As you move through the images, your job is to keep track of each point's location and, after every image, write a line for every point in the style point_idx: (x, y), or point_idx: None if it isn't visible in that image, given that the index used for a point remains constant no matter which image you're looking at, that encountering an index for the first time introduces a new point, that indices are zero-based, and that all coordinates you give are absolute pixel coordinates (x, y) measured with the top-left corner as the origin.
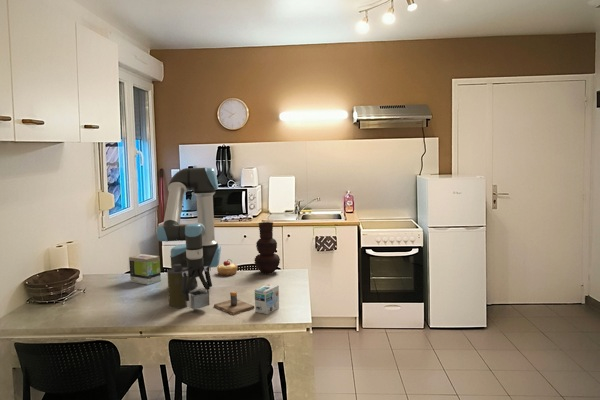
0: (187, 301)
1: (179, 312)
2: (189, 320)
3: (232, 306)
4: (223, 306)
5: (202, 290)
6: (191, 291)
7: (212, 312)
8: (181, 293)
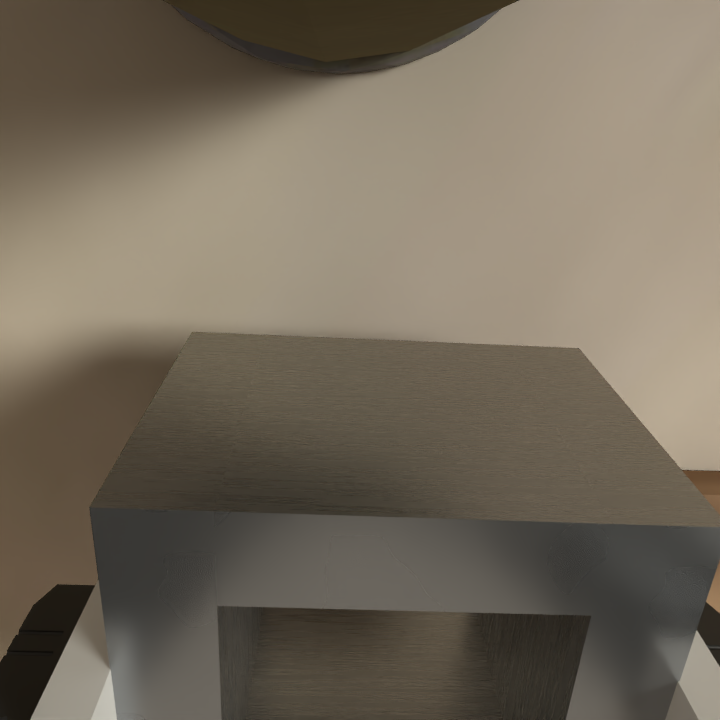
0: None
1: (80, 267)
2: None
3: None
4: None
5: (663, 682)
6: (362, 529)
7: None
8: (199, 11)
